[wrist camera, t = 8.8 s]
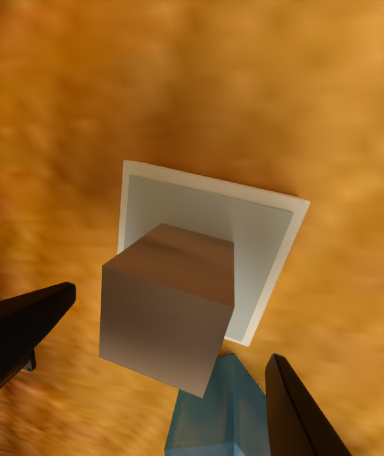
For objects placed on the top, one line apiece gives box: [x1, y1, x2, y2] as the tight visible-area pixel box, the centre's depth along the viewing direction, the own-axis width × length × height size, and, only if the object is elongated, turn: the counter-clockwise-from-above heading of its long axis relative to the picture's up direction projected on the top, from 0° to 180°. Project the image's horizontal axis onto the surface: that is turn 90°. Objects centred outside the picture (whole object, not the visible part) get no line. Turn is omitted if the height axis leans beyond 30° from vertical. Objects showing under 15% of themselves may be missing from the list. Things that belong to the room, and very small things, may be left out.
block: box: [99, 223, 235, 398], centre depth 10 cm, size 5×5×6 cm
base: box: [117, 160, 311, 347], centre depth 14 cm, size 12×12×2 cm
